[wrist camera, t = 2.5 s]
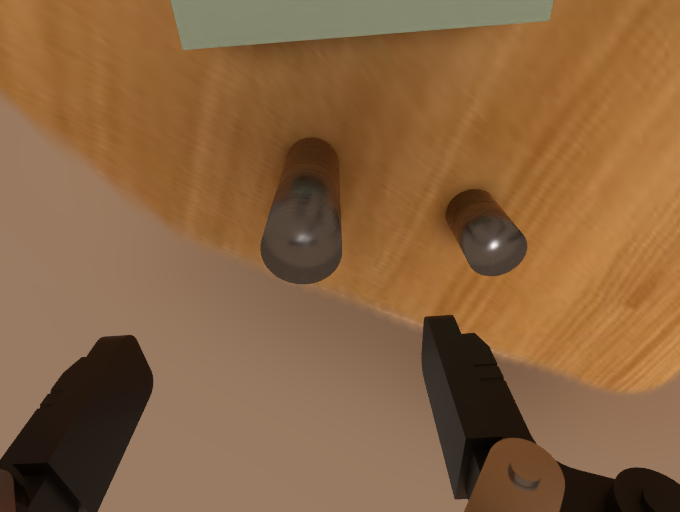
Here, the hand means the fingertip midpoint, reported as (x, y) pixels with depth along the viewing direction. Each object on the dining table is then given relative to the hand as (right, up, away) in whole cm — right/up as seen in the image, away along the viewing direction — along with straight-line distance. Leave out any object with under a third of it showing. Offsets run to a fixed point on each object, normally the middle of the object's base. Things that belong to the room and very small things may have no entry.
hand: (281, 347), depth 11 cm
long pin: (0, +8, +13) cm, 15 cm away
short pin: (+10, +5, +15) cm, 19 cm away
